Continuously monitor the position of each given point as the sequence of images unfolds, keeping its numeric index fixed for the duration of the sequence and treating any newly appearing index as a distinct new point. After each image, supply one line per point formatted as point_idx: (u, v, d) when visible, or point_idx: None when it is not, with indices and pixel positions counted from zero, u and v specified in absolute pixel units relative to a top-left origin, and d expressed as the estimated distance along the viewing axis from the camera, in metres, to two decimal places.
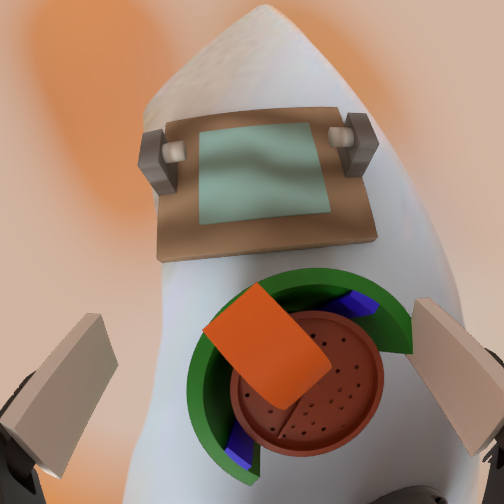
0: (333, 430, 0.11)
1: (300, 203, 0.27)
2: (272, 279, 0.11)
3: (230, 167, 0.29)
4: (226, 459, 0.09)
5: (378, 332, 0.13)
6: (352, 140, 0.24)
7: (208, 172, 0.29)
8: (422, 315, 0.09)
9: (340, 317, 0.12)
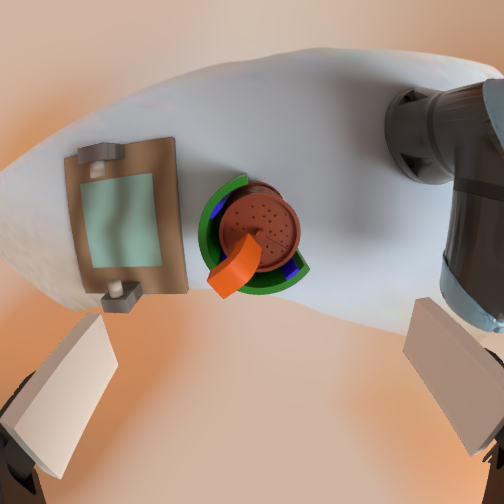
0: (288, 219, 0.24)
1: (146, 195, 0.35)
2: (203, 255, 0.23)
3: (120, 244, 0.37)
4: (292, 279, 0.24)
5: None
6: (100, 161, 0.29)
7: (124, 260, 0.38)
8: (422, 315, 0.09)
9: (223, 216, 0.23)
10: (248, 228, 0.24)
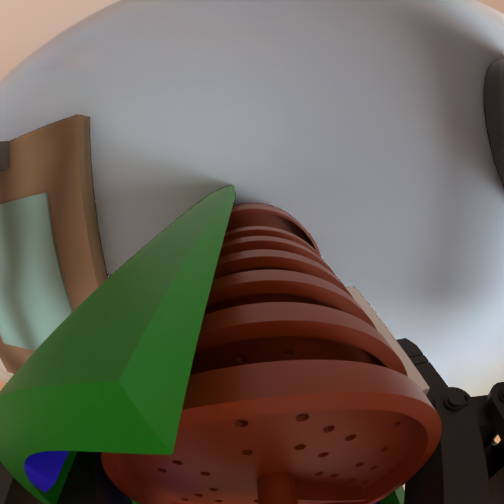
0: (398, 428, 0.04)
1: (41, 237, 0.15)
2: None
3: (24, 318, 0.17)
4: None
5: None
6: None
7: (35, 342, 0.18)
8: None
9: (105, 455, 0.03)
10: (227, 474, 0.04)
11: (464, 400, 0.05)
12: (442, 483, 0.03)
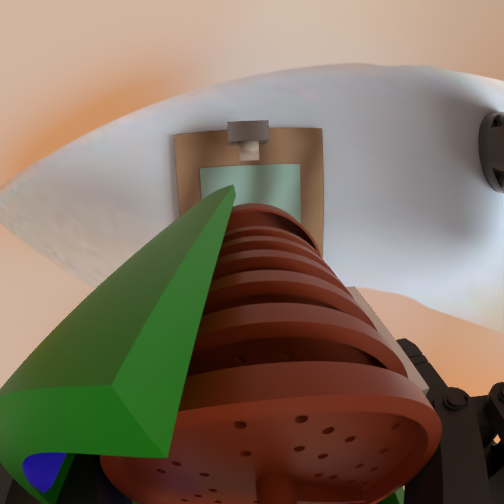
0: (398, 430, 0.04)
1: (291, 188, 0.33)
2: None
3: None
4: None
5: None
6: (257, 142, 0.27)
7: None
8: None
9: (104, 456, 0.03)
10: (226, 475, 0.04)
11: (464, 400, 0.05)
12: (441, 483, 0.03)
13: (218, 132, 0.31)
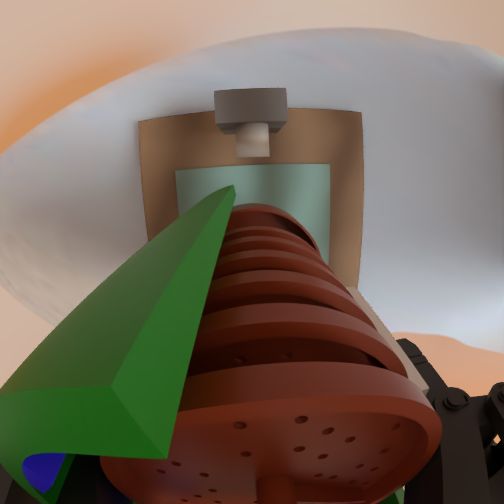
0: (398, 430, 0.04)
1: (316, 201, 0.21)
2: None
3: None
4: None
5: None
6: (266, 126, 0.15)
7: None
8: None
9: (104, 456, 0.03)
10: (226, 475, 0.04)
11: (463, 400, 0.05)
12: (441, 483, 0.03)
13: (204, 115, 0.19)
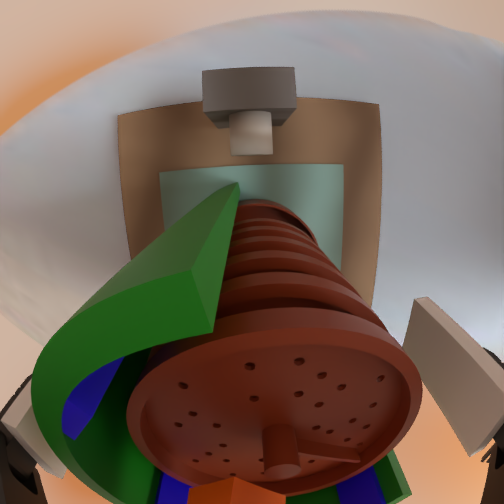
0: (384, 385, 0.05)
1: (327, 208, 0.18)
2: (98, 492, 0.04)
3: None
4: None
5: None
6: (269, 115, 0.12)
7: None
8: (420, 315, 0.09)
9: (131, 404, 0.05)
10: (236, 425, 0.06)
11: None
12: None
13: (193, 105, 0.16)
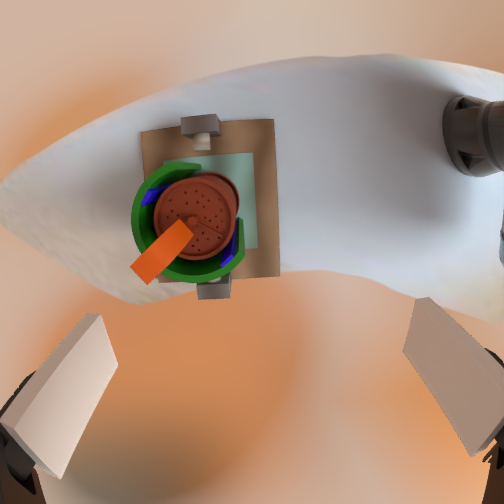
0: (223, 203, 0.23)
1: (245, 175, 0.36)
2: (137, 243, 0.22)
3: None
4: (227, 266, 0.23)
5: (170, 174, 0.23)
6: (207, 134, 0.29)
7: None
8: (422, 315, 0.09)
9: (157, 204, 0.22)
10: (182, 215, 0.23)
11: None
12: None
13: (179, 128, 0.34)
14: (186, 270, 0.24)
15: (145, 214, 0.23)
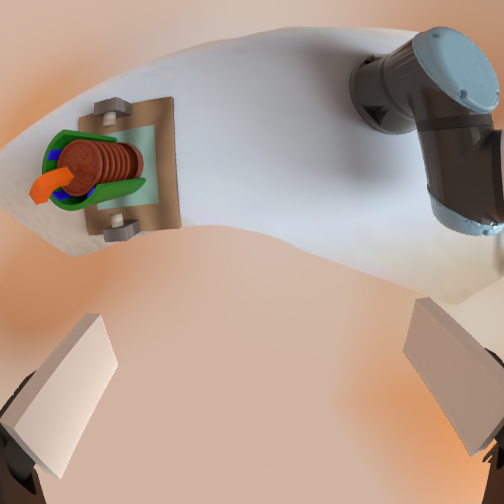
0: (95, 155, 0.28)
1: (148, 143, 0.40)
2: None
3: None
4: (91, 196, 0.27)
5: (69, 140, 0.28)
6: (112, 112, 0.34)
7: (126, 200, 0.43)
8: (422, 315, 0.09)
9: (58, 159, 0.27)
10: (73, 165, 0.28)
11: None
12: None
13: None
14: (72, 203, 0.28)
15: (53, 167, 0.28)
